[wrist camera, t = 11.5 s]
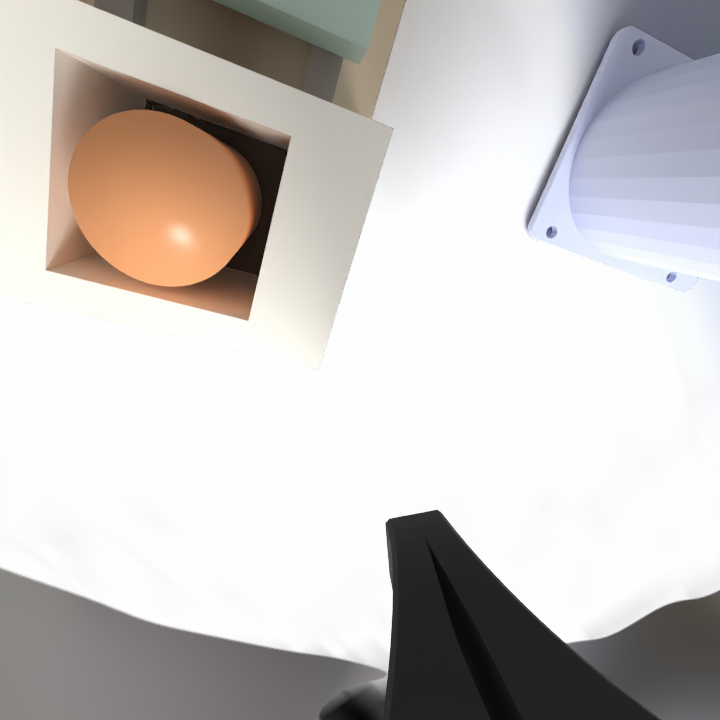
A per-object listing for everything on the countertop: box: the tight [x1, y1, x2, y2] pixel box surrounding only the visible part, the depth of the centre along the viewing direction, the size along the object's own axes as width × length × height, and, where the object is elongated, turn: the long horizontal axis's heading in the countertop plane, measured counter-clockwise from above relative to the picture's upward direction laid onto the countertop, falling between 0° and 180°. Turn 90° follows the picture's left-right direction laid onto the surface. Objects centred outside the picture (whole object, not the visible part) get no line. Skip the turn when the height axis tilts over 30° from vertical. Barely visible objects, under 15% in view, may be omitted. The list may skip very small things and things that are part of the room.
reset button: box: [68, 110, 262, 287], centre depth 12 cm, size 4×4×6 cm
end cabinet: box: [0, 0, 393, 369], centre depth 13 cm, size 10×7×6 cm
